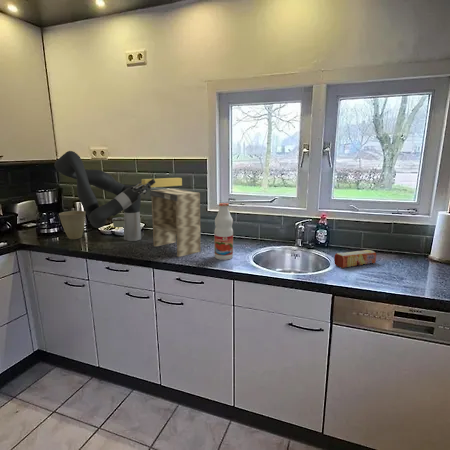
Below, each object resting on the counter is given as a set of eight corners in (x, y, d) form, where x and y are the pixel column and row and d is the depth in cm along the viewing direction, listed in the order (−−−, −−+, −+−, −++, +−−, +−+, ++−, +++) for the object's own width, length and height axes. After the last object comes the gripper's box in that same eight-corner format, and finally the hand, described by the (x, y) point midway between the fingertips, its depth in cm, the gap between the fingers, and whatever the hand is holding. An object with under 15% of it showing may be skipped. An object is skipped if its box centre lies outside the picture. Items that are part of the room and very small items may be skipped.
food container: (134, 231, 214) (133, 217, 212) (130, 234, 208) (129, 219, 206) (116, 231, 215) (115, 216, 213) (112, 233, 209) (111, 218, 207)
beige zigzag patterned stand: (174, 241, 191) (172, 188, 184) (200, 251, 172) (200, 192, 165) (151, 246, 181) (149, 190, 174) (177, 257, 162) (175, 195, 155)
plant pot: (82, 233, 208) (80, 209, 204) (91, 238, 197) (89, 213, 194) (58, 237, 198) (55, 212, 195) (65, 242, 187) (63, 216, 184)
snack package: (366, 260, 160) (368, 247, 159) (377, 264, 154) (378, 251, 153) (332, 265, 153) (333, 251, 151) (342, 269, 147) (343, 255, 145)
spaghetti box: (177, 184, 177) (177, 177, 176) (181, 185, 174) (181, 178, 173) (141, 187, 163) (141, 179, 162) (145, 187, 160) (145, 179, 159)
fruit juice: (232, 254, 167) (232, 202, 161) (233, 260, 158) (234, 204, 152) (214, 254, 167) (214, 201, 161) (214, 260, 158) (214, 204, 152)
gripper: (128, 194, 149) (155, 174, 157) (115, 191, 159) (142, 173, 167) (136, 206, 153) (162, 187, 161) (123, 203, 163) (149, 185, 171)
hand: (152, 180), depth 164 cm, fingers closed on spaghetti box, 4 cm apart
